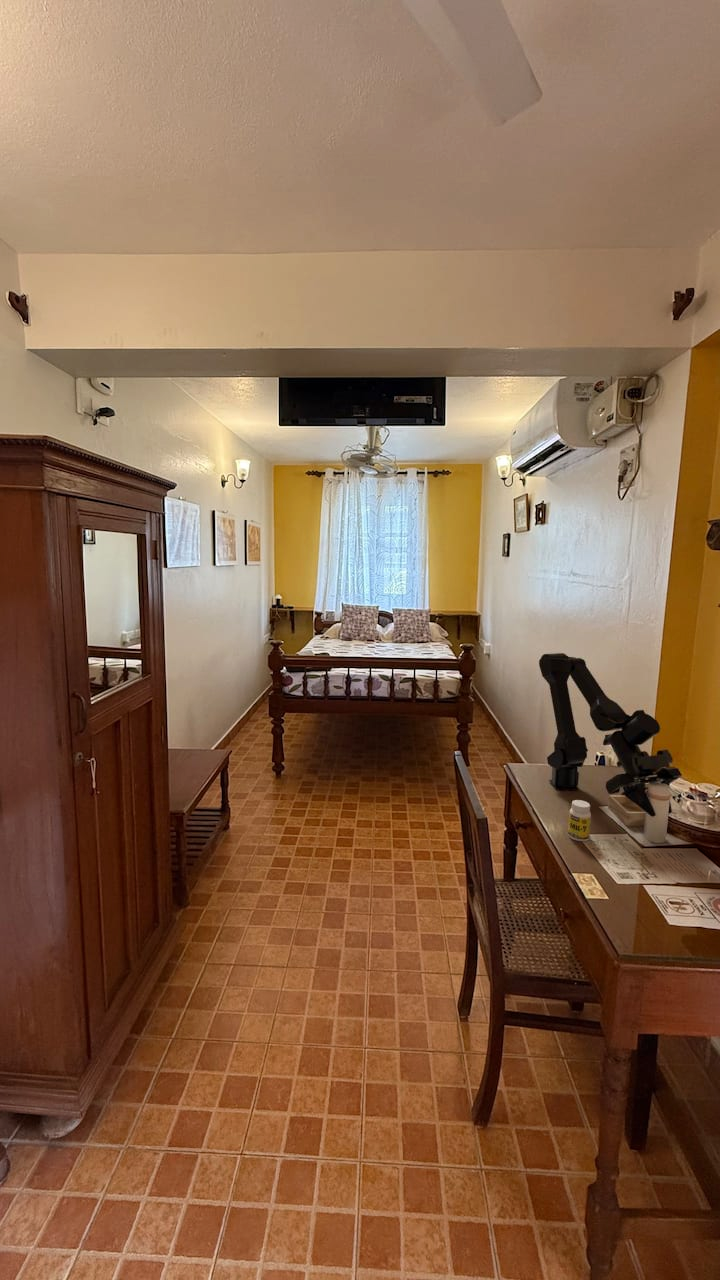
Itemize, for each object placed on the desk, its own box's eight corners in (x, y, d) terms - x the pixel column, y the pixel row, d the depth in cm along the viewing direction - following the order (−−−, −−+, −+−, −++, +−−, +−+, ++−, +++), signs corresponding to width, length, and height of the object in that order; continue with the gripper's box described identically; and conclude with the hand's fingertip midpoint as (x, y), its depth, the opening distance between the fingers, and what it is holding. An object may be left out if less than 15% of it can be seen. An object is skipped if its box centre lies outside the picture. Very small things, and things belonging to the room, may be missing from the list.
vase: (649, 843, 128) (654, 790, 126) (639, 833, 132) (644, 781, 130) (670, 843, 128) (675, 790, 126) (659, 833, 132) (664, 782, 130)
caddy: (625, 826, 136) (626, 812, 135) (607, 807, 146) (608, 795, 145) (667, 826, 136) (668, 813, 135) (646, 808, 146) (647, 796, 145)
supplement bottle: (566, 838, 129) (568, 805, 128) (569, 830, 133) (571, 797, 132) (588, 843, 127) (590, 809, 126) (590, 835, 131) (592, 801, 130)
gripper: (618, 742, 127) (653, 807, 118) (679, 734, 133) (716, 796, 125) (591, 762, 136) (622, 824, 127) (649, 755, 142) (683, 813, 133)
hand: (662, 814), depth 128 cm, fingers closed on vase, 5 cm apart
